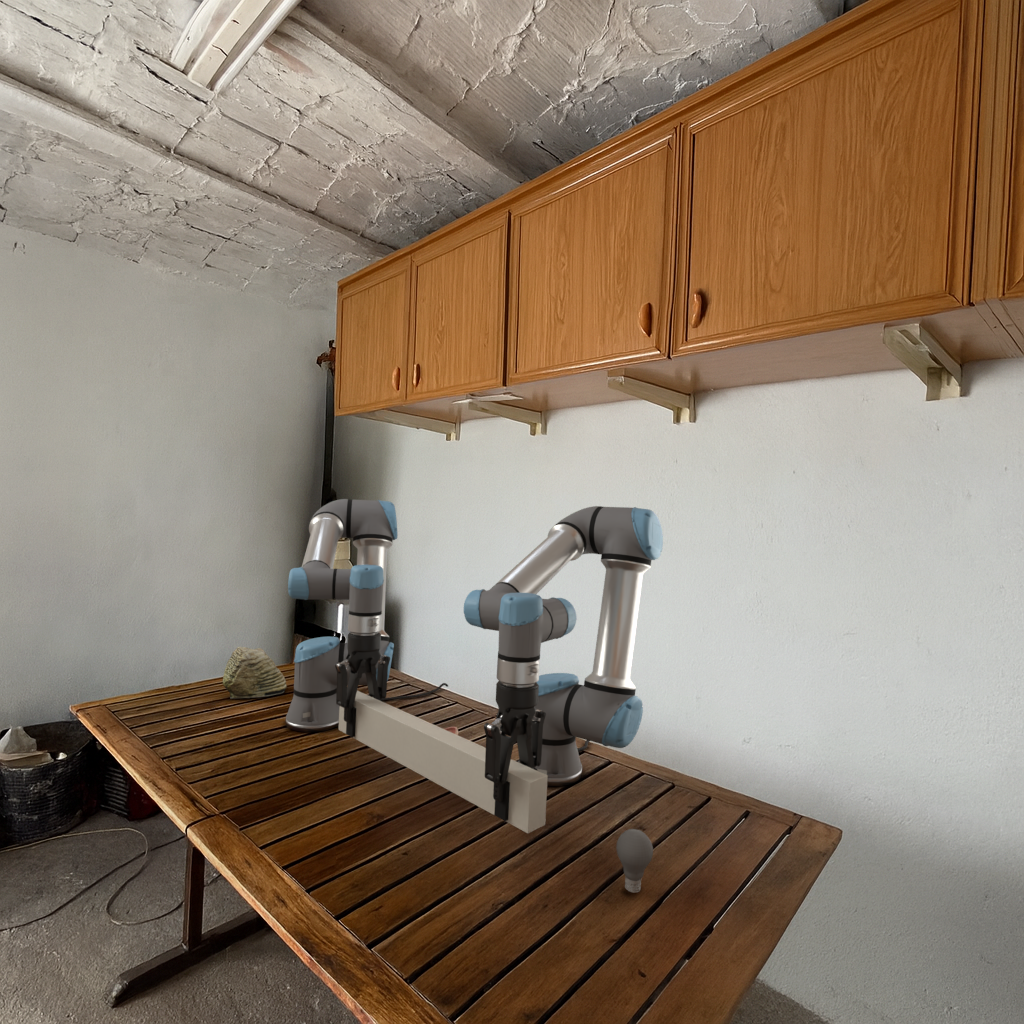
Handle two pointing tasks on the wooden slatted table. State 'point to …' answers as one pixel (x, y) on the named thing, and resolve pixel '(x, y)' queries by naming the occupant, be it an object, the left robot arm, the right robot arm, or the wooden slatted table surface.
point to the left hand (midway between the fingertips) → (360, 732)
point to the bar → (447, 760)
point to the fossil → (252, 674)
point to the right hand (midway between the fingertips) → (511, 812)
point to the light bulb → (634, 857)
